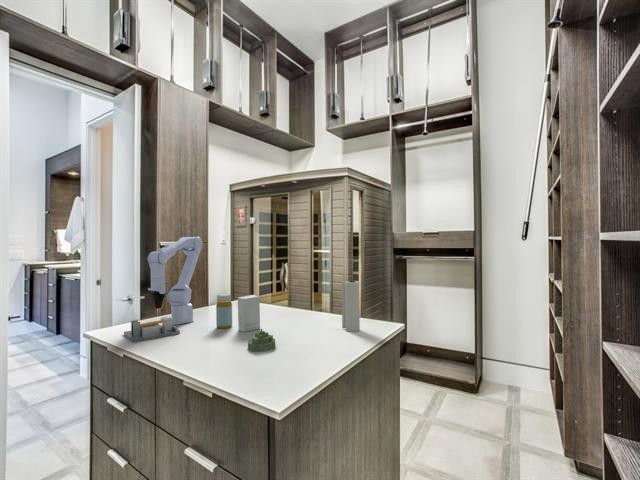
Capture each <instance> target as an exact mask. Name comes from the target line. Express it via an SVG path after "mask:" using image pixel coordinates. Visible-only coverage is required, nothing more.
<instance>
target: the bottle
mask: <svg viewBox="0 0 640 480" xmlns="http://www.w3.org/2000/svg"><path fill="white" fill-rule="evenodd" d="M216 297H217V298H216V306H215V310H216V318H215V319H216V328H217V329H222V330H223V329H230V328H232V326H233V303H232V294H231V293H220V294H217V296H216Z"/></svg>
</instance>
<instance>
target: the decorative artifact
mask: <svg viewBox="0 0 640 480" xmlns="http://www.w3.org/2000/svg"><path fill="white" fill-rule="evenodd" d="M275 348H276V339H275V338H274V335H273V334H271V335H270V334H269V332H267V331H265V330H263V328H260V330H259V331H258V332H255V334H254V335H253V336H252V338H250V339H248V341H247V350H249V352H254V353H257V352H258V353H262V352H264V353H265V352H268V351H271V350H274V349H275Z"/></svg>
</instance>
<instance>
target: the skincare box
mask: <svg viewBox="0 0 640 480" xmlns="http://www.w3.org/2000/svg"><path fill="white" fill-rule="evenodd" d="M260 308H261V307H260V296H259V295H255V294H250V295H245V296H239V297H237V315H238V316H237V317H238V318H237V319H238V320H237V321H238V330H239V331H241V332H243V333H246V332H251V331H255V330H259V329H260V330H261V317H260V316H261V314H260V311H261V309H260Z"/></svg>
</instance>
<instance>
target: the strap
mask: <svg viewBox="0 0 640 480" xmlns="http://www.w3.org/2000/svg"><path fill="white" fill-rule="evenodd" d="M152 324H162V320H161V319H159V320H155V321H150V322H149V321H147V322H143V323H142V322H140V327H141V326H147V325H152Z"/></svg>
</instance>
